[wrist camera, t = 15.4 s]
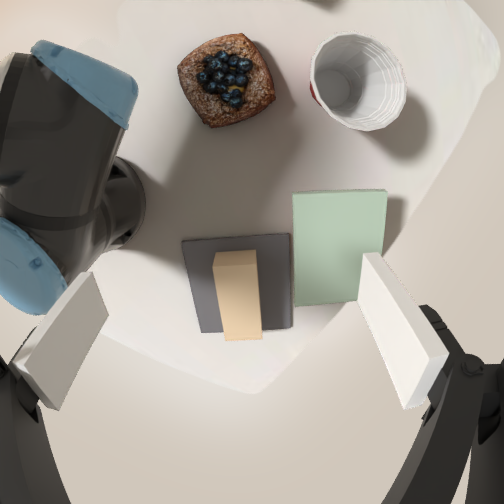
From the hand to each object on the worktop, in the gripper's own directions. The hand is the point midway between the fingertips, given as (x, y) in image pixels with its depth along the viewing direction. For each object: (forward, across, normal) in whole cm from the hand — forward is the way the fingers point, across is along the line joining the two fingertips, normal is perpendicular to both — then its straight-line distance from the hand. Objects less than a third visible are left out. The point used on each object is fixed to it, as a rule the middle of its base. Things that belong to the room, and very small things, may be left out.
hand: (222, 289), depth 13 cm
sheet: (+23, +12, -10) cm, 28 cm away
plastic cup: (+29, +13, +11) cm, 34 cm away
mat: (+29, -2, -19) cm, 34 cm away
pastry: (+29, -1, +12) cm, 32 cm away
